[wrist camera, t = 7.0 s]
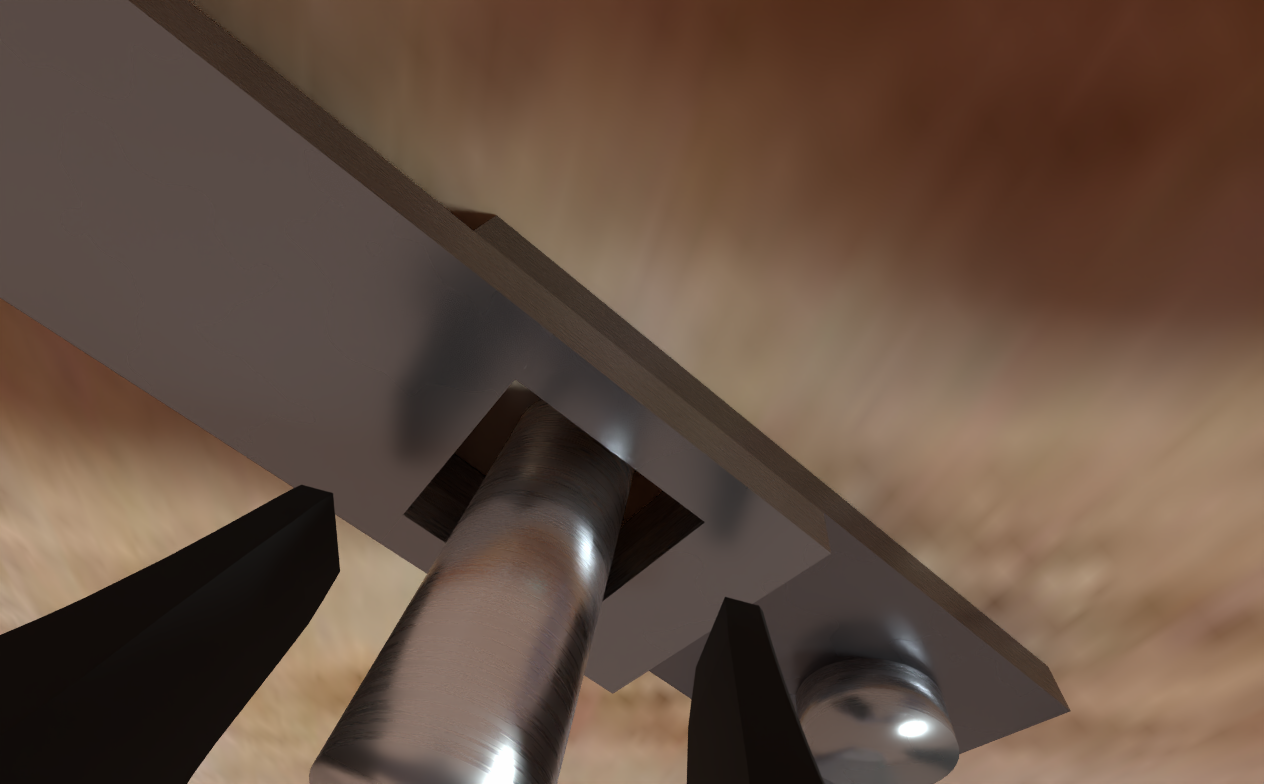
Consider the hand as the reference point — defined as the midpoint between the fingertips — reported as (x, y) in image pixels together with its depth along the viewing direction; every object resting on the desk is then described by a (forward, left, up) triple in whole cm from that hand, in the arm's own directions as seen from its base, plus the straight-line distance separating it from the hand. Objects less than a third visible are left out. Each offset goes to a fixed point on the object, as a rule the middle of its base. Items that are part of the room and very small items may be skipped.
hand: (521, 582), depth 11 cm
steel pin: (0, 0, -4) cm, 4 cm away
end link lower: (-4, 0, -4) cm, 6 cm away
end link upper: (+4, 0, -4) cm, 6 cm away
